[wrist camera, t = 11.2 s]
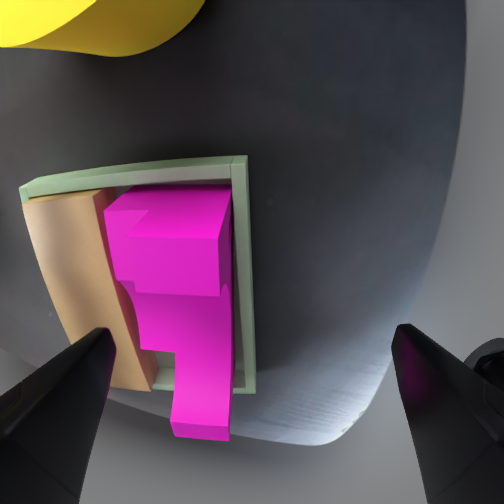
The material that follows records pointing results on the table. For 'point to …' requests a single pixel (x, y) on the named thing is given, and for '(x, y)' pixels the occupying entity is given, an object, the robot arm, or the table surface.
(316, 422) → the table surface
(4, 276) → the table surface
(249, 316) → the frame
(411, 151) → the table surface
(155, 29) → the yellow hollow cylinder
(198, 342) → the toy block
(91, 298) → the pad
